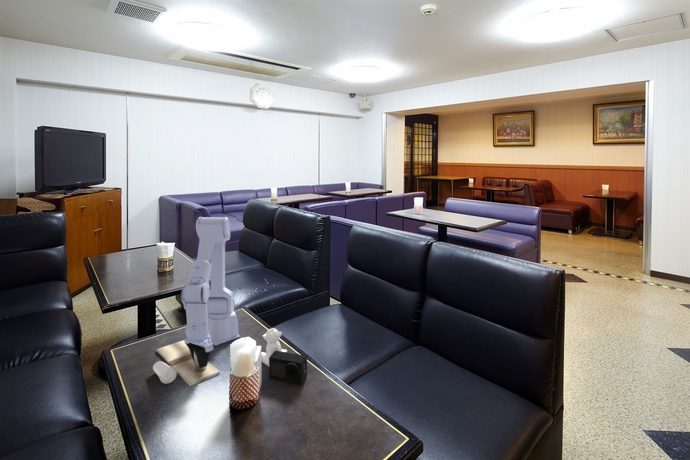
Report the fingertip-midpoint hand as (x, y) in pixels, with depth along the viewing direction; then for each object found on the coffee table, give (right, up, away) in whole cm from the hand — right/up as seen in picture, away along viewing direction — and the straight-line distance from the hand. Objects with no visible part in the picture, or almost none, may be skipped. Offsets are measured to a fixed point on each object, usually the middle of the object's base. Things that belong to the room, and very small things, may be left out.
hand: (200, 364), depth 114 cm
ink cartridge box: (+18, -5, -8) cm, 20 cm away
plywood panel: (-6, -1, +5) cm, 8 cm away
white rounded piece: (-13, 0, 0) cm, 13 cm away
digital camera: (+27, -4, -2) cm, 27 cm away
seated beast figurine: (+21, -2, +6) cm, 22 cm away
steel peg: (0, -2, 0) cm, 2 cm away
